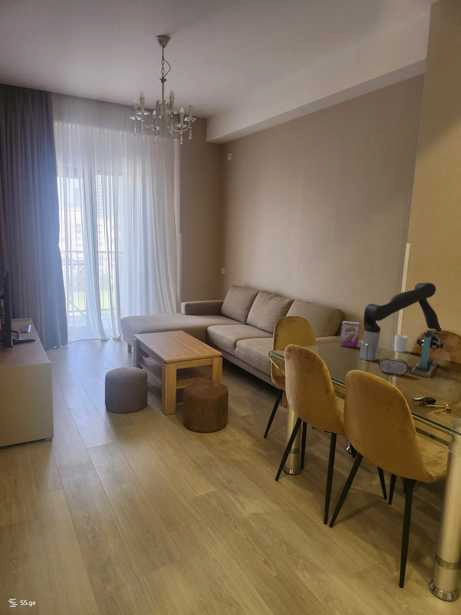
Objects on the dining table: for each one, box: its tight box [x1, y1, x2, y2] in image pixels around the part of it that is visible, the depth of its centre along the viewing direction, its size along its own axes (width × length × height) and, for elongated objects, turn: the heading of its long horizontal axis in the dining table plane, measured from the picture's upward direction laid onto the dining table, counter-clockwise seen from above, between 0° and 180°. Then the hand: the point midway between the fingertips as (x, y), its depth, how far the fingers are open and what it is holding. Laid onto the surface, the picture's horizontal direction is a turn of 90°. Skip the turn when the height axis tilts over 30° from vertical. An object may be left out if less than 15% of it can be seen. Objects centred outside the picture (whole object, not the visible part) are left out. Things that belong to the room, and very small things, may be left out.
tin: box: [378, 357, 409, 376], centre depth 232 cm, size 15×3×8 cm, turn 71°
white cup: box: [393, 334, 409, 353], centre depth 282 cm, size 8×8×10 cm
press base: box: [409, 357, 439, 379], centre depth 245 cm, size 32×10×5 cm, turn 148°
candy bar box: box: [339, 320, 361, 349], centre depth 285 cm, size 11×5×16 cm, turn 77°
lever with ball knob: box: [417, 329, 433, 371], centre depth 240 cm, size 12×6×22 cm, turn 148°
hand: (428, 345), depth 247 cm, fingers open, 8 cm apart
